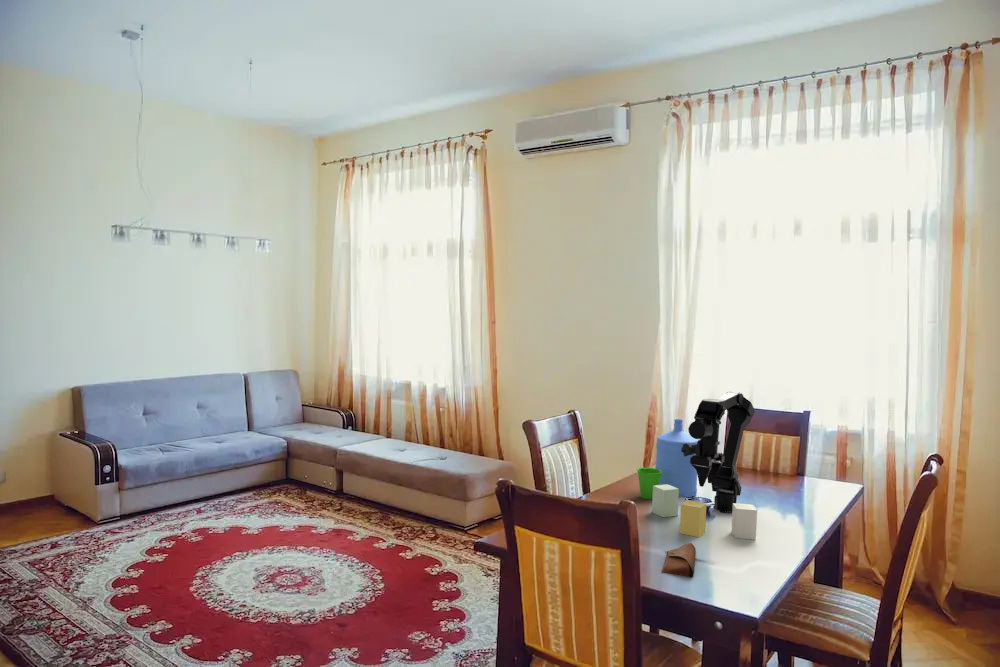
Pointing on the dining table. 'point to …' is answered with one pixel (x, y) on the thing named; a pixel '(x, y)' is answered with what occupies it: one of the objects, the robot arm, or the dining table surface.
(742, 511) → the cream block
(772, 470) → the dining table surface
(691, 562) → the sunglasses case
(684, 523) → the mustard block
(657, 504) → the sage block
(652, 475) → the cup
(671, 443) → the water jug
